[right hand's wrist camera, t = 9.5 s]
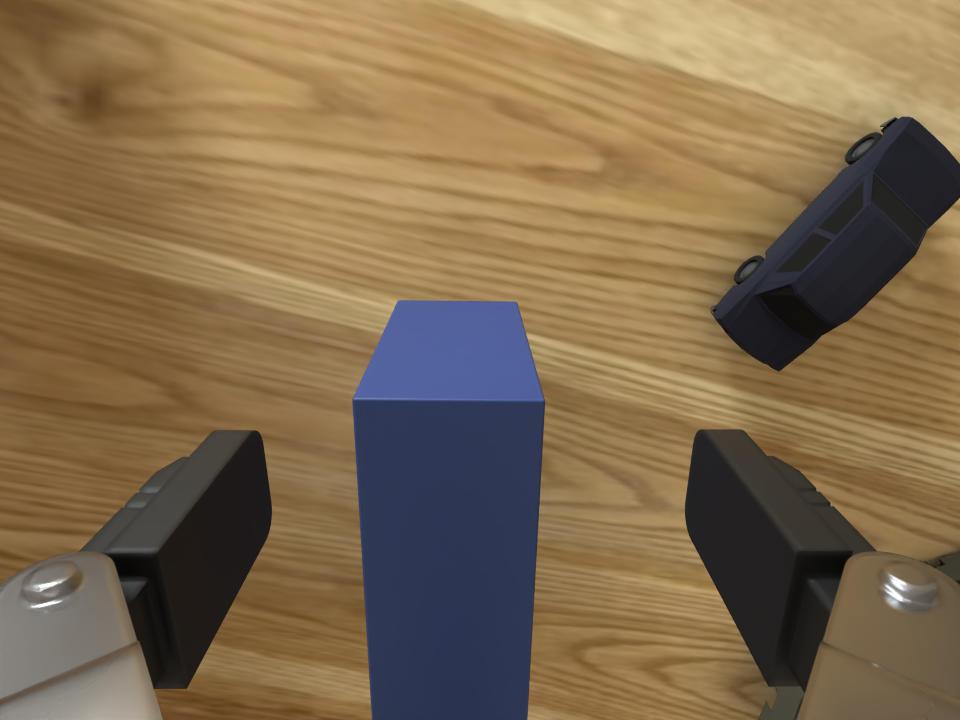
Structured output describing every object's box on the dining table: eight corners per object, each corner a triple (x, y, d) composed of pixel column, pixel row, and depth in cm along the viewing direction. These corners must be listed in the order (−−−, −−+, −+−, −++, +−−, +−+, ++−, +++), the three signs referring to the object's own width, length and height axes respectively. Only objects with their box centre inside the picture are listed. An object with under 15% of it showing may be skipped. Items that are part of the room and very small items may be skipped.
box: (397, 300, 32) (351, 398, 19) (517, 301, 32) (545, 399, 20) (410, 694, 41) (384, 927, 29) (502, 694, 41) (515, 926, 29)
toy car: (942, 179, 36) (1013, 184, 31) (758, 363, 39) (797, 393, 35) (878, 113, 34) (942, 108, 30) (694, 310, 38) (725, 333, 33)
